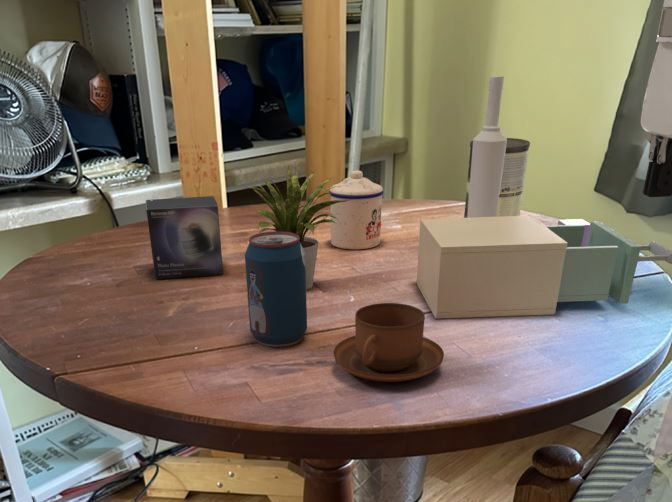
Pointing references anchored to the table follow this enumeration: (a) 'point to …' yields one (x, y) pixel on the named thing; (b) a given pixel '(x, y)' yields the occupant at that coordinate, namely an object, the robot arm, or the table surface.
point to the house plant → (296, 216)
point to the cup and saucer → (388, 344)
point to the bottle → (488, 158)
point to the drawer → (601, 263)
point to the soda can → (276, 288)
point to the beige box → (489, 266)
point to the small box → (184, 237)
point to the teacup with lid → (356, 213)
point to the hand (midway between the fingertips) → (657, 195)
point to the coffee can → (508, 178)
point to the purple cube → (578, 222)
